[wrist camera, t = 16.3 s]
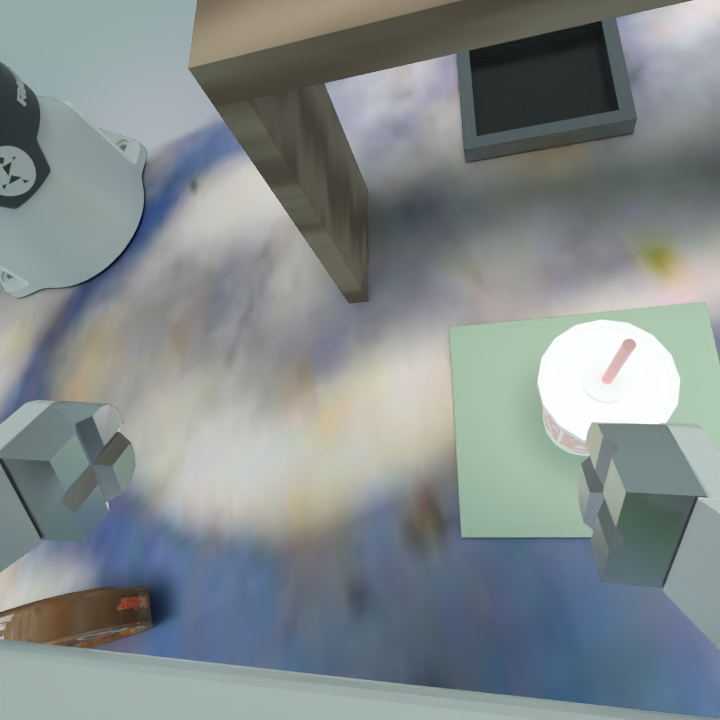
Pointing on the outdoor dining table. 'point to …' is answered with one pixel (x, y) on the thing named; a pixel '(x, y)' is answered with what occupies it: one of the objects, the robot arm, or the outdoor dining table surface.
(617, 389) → the beverage cup
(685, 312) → the sage pad
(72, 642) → the tin
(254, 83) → the walnut tunnel
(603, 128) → the tray
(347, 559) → the outdoor dining table surface
